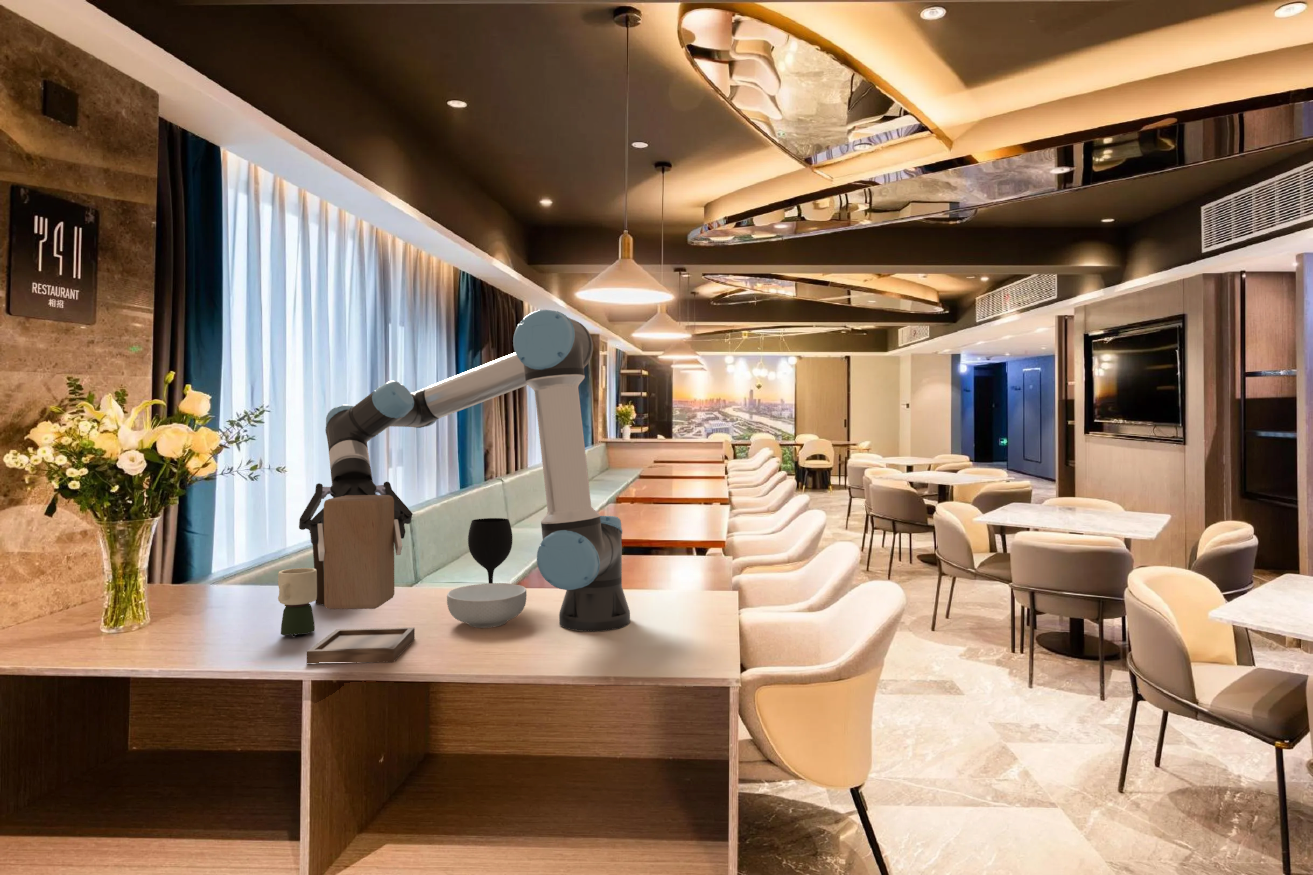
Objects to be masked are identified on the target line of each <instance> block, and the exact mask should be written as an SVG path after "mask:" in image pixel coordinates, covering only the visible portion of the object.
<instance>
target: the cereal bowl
mask: <svg viewBox="0 0 1313 875" xmlns="http://www.w3.org/2000/svg"><path fill="white" fill-rule="evenodd" d="M527 596H528V595H527V588H526V587H525V586H523V585H521V584H515V583H503V582H502V583H500V582H498V583H496V582H493V583H489V582H488V583H478V584H470V585H465V586H460V587H457V588H456V587H455V588H454V589H451V590H449V591H448V592H447V595H446V604H447V608H448V612H449V613H450V615H451V616H452V617H453V618H454V619H455V620H457V621H458V622H461V623H465V624H468V626H470V627H472V628H478V629H479V628H480V629H481V628H482V629H484V628H485V629H487V628H488V629H489V628H497V627H501V626H503V625H505V624H507V623H508V621H510V620H512V619H514V618H516V617H518V615H520V614H521V613H522V612H523V610H524V609H525V606H526V603H527Z"/></svg>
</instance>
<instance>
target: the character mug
mask: <svg viewBox="0 0 1313 875" xmlns="http://www.w3.org/2000/svg"><path fill="white" fill-rule="evenodd" d="M277 576H278V577H277V578H278V579H277V580H278V581H277V585H278V597H277V599H278V602H279V603H280V604H282V605H284V609H283V613H282V619H281V627H280V635H281V636H287V635H290V636H292V637H293V636H295V637H296V636H297V635H307V634H312V633H314V632H315V631H316V627H315V626H316V625H315V619H314V618H315V617H314V612H313V607H312V605H311V603H313V602H316V599H317V570H316V569H314V567H299V568H287V569H283V570H280V571H278V574H277Z"/></svg>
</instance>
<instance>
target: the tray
mask: <svg viewBox="0 0 1313 875" xmlns="http://www.w3.org/2000/svg"><path fill="white" fill-rule="evenodd" d="M415 634H416V633H415V627H379V628H377V627H376V628H372V627H371V628H342V629H341V628H337V629H335V630H333V631H332V632H331V633H329V634H328V635H326V636H325V637H324V638H323V639H321V640H320V641H319V642H317V643H316V644H315V645H313V646H312V647H311V648H309V649H308V650H306V664H307V663H319V662H356V663H355V664H358V663H357V662H378V663H395V661H397V659H399V657H400V656H401V654H402V653H403V652H404V651H405V650H406V649H407V648H408V647H409V646H410V645H411V644H412V642H414V641H415Z"/></svg>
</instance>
